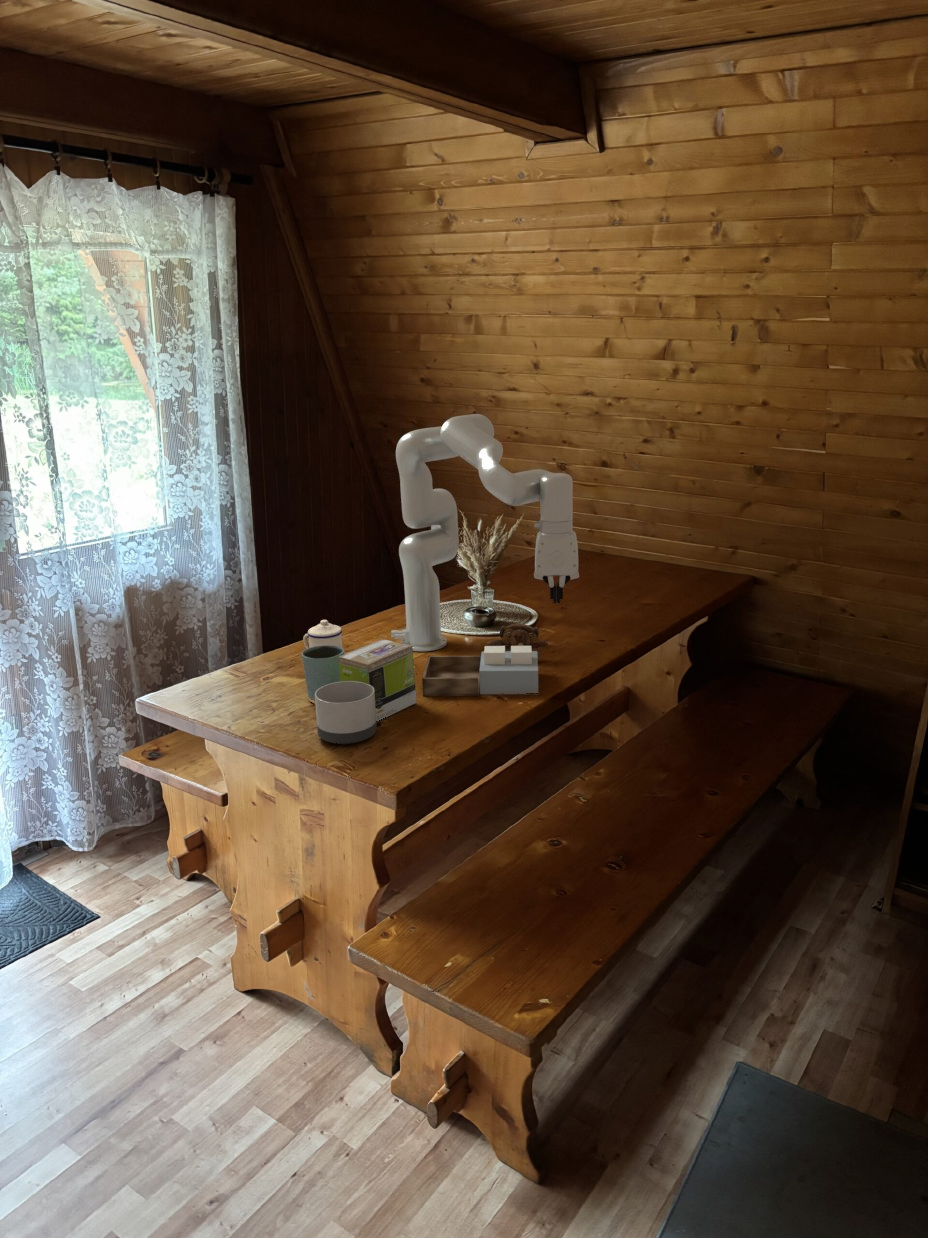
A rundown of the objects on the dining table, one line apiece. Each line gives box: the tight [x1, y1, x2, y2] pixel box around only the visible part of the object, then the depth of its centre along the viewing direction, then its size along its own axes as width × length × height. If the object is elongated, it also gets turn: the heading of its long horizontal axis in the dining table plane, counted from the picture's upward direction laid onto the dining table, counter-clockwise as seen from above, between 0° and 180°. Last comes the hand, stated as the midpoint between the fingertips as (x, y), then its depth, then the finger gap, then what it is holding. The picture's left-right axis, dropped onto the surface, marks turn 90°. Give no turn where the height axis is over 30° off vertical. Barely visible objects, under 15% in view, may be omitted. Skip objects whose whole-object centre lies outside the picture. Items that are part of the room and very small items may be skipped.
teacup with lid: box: [302, 619, 343, 649], centre depth 254 cm, size 12×9×12 cm
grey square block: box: [479, 650, 539, 695], centre depth 236 cm, size 14×14×6 cm
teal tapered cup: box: [301, 645, 345, 701], centre depth 229 cm, size 10×10×12 cm
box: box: [421, 655, 481, 697], centre depth 237 cm, size 13×16×4 cm
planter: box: [314, 681, 378, 745], centre depth 208 cm, size 13×13×10 cm
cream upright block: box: [511, 646, 532, 664], centre depth 234 cm, size 5×5×3 cm
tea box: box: [338, 638, 418, 722], centre depth 221 cm, size 15×10×15 cm
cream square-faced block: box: [483, 645, 505, 664], centre depth 235 cm, size 5×5×3 cm
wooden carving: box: [485, 623, 550, 658], centre depth 250 cm, size 16×5×10 cm, turn 90°
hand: (556, 601), depth 230 cm, fingers closed
